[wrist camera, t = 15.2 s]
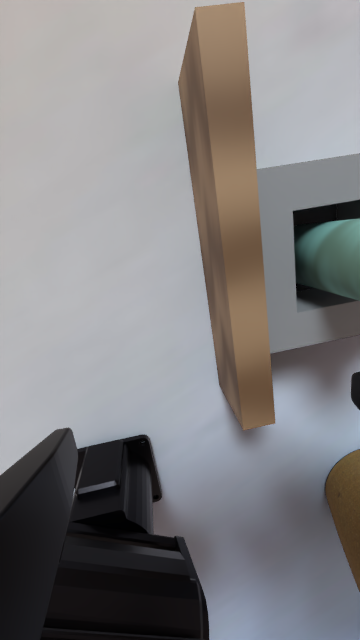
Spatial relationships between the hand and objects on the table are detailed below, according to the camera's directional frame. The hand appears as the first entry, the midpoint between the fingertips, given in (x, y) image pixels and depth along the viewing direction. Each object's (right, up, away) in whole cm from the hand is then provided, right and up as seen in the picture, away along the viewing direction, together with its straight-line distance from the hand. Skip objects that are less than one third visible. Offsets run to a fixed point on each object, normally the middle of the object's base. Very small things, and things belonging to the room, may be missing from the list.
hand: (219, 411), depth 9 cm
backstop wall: (+1, +7, +10) cm, 13 cm away
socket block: (+7, +8, +11) cm, 15 cm away
